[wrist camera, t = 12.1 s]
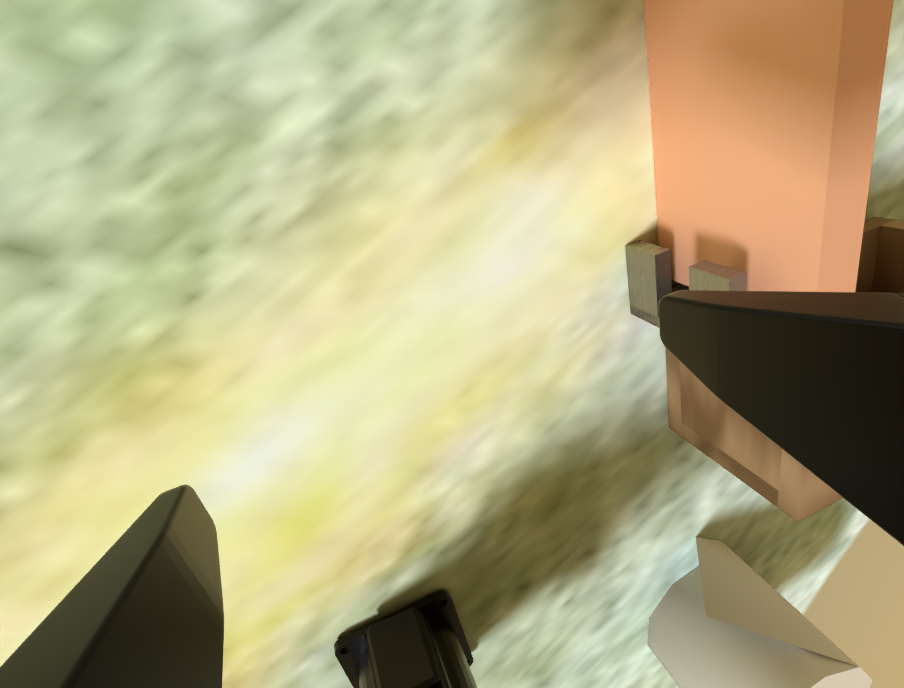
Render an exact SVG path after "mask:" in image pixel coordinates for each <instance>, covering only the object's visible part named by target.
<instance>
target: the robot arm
mask: <svg viewBox="0 0 904 688" xmlns="http://www.w3.org/2000/svg"><path fill="white" fill-rule="evenodd" d="M658 307H659V326H660V337H661V340H662V342H663V344H664V346H665V347H666V348H667V349H668V350H669V351H670V352H671V353H672V354H673V355H674V356H675V357H676V358H677V359H678V360H679V361H680V362H681V363H682V364H683V365H684V366H685V367H687V368H688V369H689V370H690V371H691V372H692V373H693V374H694V375H695V376H696V377H697V378H698V379H699V380H700V381H701V382H702V383H703V384H704V385H705V386H706V387H707V388H708V389H709V390H710V391H711V392H712V393H713V394H715V395H716V396H717V397H718V398H719V399H720V400H721V401H723V402H724V403H725V404H726V405H727V406H729V407H730V408H731V409H732V410H734V411H735V412H736V413H738V414H739V415H740V416H741V417H743V418H744V419H745V420H746V421H748V422H749V423H750V424H751V425H753V426H754V427H755V428H756V429H758V430H759V431H760V432H761V433H763V434H764V435H765V436H766V437H768V438H769V439H770V440H771V441H773V442H774V443H775V444H776V445H778V446H779V447H780V448H781V449H783V450H784V451H785V452H787V453H788V454H789V455H790V456H792V457H793V458H794V459H795V460H797V461H798V462H799V463H800V464H802V465H803V466H804V467H805V468H807V469H808V470H809V471H810V472H812V473H813V474H814V475H815V476H817V477H818V478H819V479H820V480H822V481H823V482H824V483H825V484H827V485H828V486H829V487H830V488H832V489H833V490H834V491H835V492H837V493H838V494H839V495H841V496H842V497H843V498H844V499H846V500H847V501H848V502H849V503H851V504H852V505H853V506H854V507H856V508H857V509H858V510H859V511H861V512H862V513H863V514H864V515H866V516H867V517H868V518H869V519H871V520H872V521H873V522H875V523H876V524H877V525H878V526H880V527H881V528H882V529H883V530H884V531H886V532H887V533H888V534H890V535H891V536H892V537H893V538H895V539H896V540H897V541H898V542H900V543H901V544H902V545H903V546H904V293H899V294H895V293H866V292H790V291H715V290H679V291H676V292H673V293H670V294H668V295H665V296H663V297H662V298H661V299H660V301H659V306H658ZM223 641H224V611H223V597H222V586H221V575H220V564H219V553H218V542H217V532H216V528H215V525H214V522H213V520H212V518H211V517H210V515H209V513H208V512H207V510H206V509H205V507H204V505H203V504H202V502H201V500H200V499H199V497H198V496H197V494H196V492H195V491H194V489H193V488H192V487H190V486H189V485H181V486H179V487H176V488H174V489H171V490H169V491H166V492H164V493H162V494H160V495H159V496H158V497H157V498H156V499H155V500H154V502H153V503H152V504H151V505H150V506H149V507H148V508H147V509H146V510H145V511H144V512H143V513H142V515H141V516H140V517H139V518H138V519H137V520H136V521H135V522H134V523H133V524H132V525H131V526H130V528H129V529H128V530H127V531H126V532H125V533H124V534H123V535H122V536H121V537H120V538H119V539H118V540H117V542H116V543H115V544H114V545H113V546H112V547H111V548H110V549H109V550H108V551H107V552H106V553H105V555H104V556H103V557H102V558H101V559H100V560H99V561H98V562H97V563H96V564H95V565H94V566H93V567H92V569H91V570H90V571H89V572H88V573H87V574H86V575H85V576H84V577H83V578H82V579H81V580H80V582H79V583H78V584H77V585H76V586H75V587H74V588H73V589H72V590H71V591H70V592H69V593H68V595H67V596H66V597H65V598H64V599H63V600H62V601H61V602H60V603H59V604H58V605H57V606H56V607H55V609H54V610H53V611H52V612H51V613H50V614H49V615H48V616H47V617H46V618H45V619H44V620H43V622H42V623H41V624H40V625H39V626H38V627H37V628H36V629H35V630H34V631H33V632H32V633H31V634H30V636H29V637H28V638H27V639H26V640H25V641H24V642H23V643H22V644H21V645H20V646H19V647H18V649H17V650H16V651H15V652H14V653H13V654H12V655H11V656H10V657H9V658H8V659H7V660H6V662H5V663H4V664H3V665H2V666H1V667H0V688H222V669H223ZM334 649H335V655H336V657H337V659H338V661H339V662H340V664H341V666H342V668H343V670H344V671H345V673H346V675H347V677H348V678H349V680H350V682H351V684H352V686H353V687H354V688H477V686H476V683H475V680H474V678H473V675H472V673H471V670H470V668H469V666H471V664H472V663H473V657H472V655H471V652H470V649H469V646H468V643H467V641H466V638H465V635H464V632H463V629H462V627H461V624H460V621H459V618H458V615H457V613H456V610H455V607H454V604H453V601H452V599H451V596H450V594H449V592H448V591H446V590H442V591H438V592H436V593H434V594H432V595H430V596H428V597H426V598H424V599H422V600H420V601H418V602H415V603H413V604H411V605H409V606H407V607H405V608H403V609H401V610H399V611H397V612H395V613H392V614H390V615H388V616H386V617H384V618H382V619H380V620H378V621H376V622H374V623H372V624H369V625H367V626H365V627H363V628H361V629H359V630H357V631H355V632H353V633H351V634H349V635H346V636H344V637H342V638H340V639H339V640H337V641H336V643H335V645H334Z"/></svg>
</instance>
